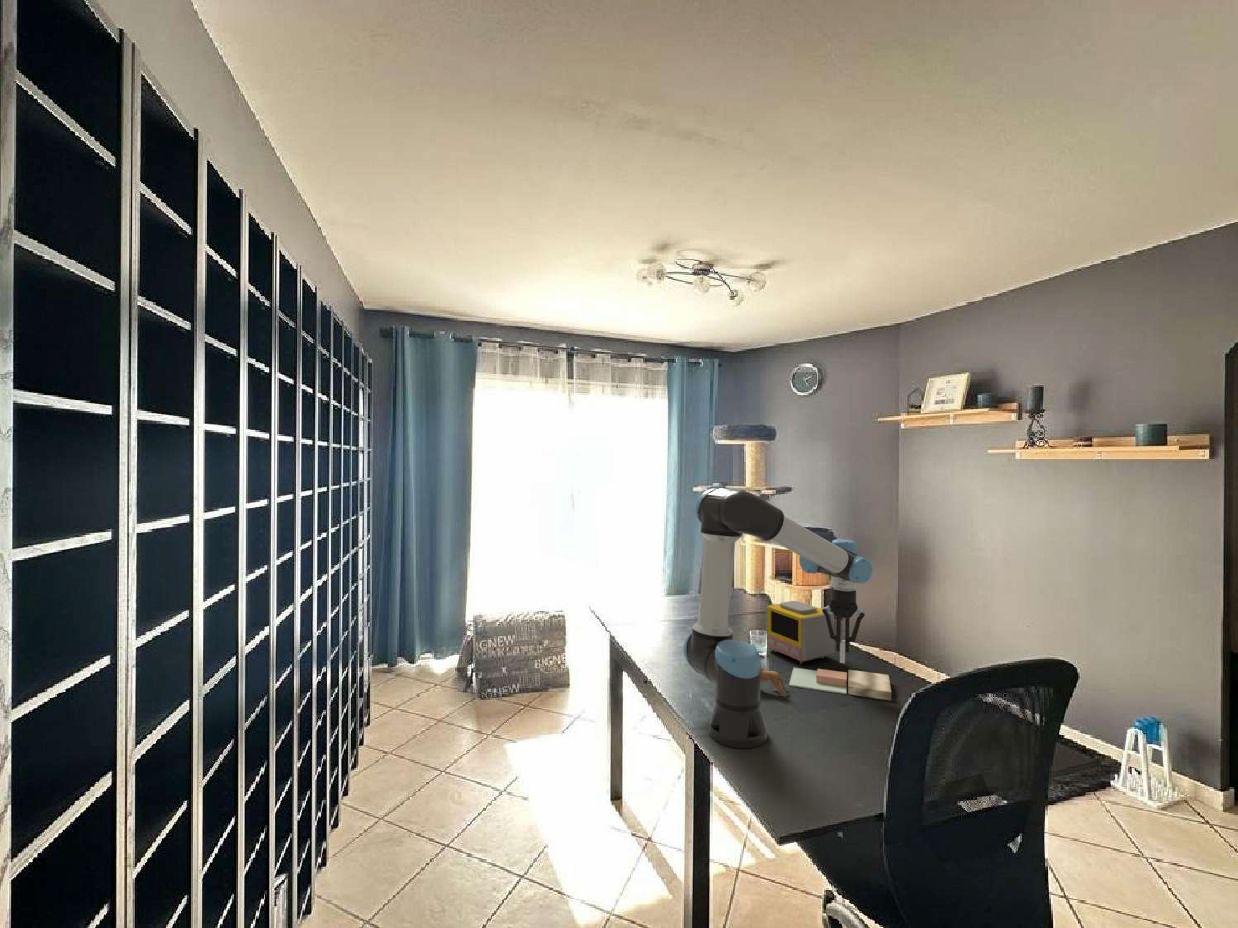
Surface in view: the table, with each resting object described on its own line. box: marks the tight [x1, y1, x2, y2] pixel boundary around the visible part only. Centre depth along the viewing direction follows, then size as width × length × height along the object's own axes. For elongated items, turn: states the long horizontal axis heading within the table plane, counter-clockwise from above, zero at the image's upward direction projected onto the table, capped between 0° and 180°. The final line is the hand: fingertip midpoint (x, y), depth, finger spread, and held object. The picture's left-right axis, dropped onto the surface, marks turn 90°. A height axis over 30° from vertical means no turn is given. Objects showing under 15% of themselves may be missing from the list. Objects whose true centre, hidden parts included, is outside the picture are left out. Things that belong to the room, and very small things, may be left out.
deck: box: [847, 669, 892, 701], centre depth 178 cm, size 12×14×2 cm
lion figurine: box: [760, 668, 790, 698], centre depth 176 cm, size 15×5×9 cm, turn 69°
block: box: [816, 668, 848, 687], centre depth 182 cm, size 9×6×2 cm, turn 67°
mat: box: [788, 667, 848, 695], centre depth 184 cm, size 17×15×1 cm
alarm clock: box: [765, 600, 835, 665], centre depth 207 cm, size 20×16×18 cm
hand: (842, 661), depth 180 cm, fingers closed
